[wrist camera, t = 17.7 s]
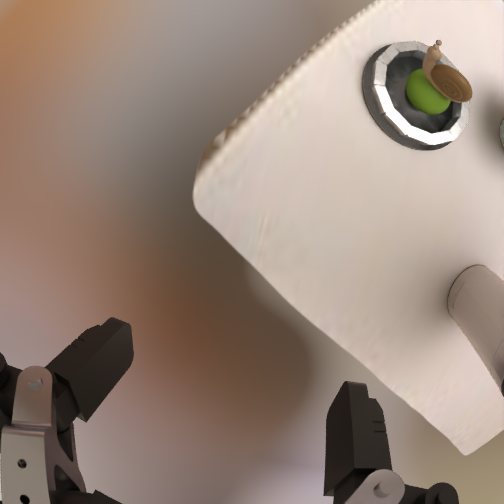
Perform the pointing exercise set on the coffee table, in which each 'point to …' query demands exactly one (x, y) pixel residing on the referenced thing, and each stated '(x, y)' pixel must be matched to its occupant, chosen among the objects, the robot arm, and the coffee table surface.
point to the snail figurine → (436, 84)
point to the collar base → (398, 104)
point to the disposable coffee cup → (502, 132)
